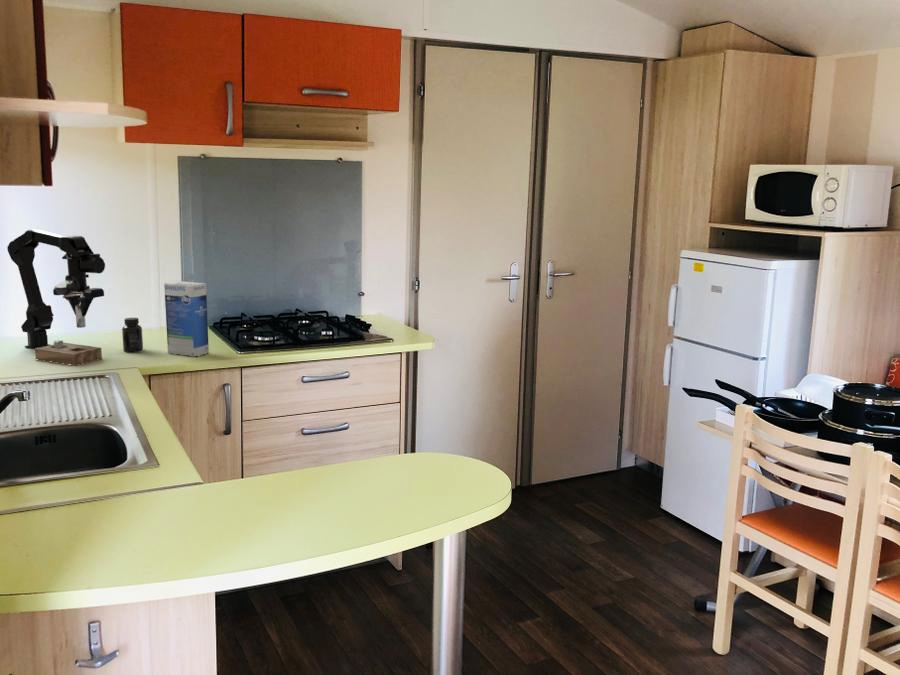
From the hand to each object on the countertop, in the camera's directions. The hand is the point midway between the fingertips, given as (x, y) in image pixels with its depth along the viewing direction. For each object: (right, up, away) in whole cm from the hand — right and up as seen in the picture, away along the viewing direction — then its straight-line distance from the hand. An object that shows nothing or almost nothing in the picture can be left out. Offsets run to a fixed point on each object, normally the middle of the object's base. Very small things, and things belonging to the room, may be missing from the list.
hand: (80, 315), depth 308 cm
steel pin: (0, -4, +1) cm, 4 cm away
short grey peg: (-5, -15, -6) cm, 17 cm away
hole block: (-1, -15, -8) cm, 17 cm away
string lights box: (+37, -14, +5) cm, 40 cm away
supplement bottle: (+16, -13, +8) cm, 22 cm away
